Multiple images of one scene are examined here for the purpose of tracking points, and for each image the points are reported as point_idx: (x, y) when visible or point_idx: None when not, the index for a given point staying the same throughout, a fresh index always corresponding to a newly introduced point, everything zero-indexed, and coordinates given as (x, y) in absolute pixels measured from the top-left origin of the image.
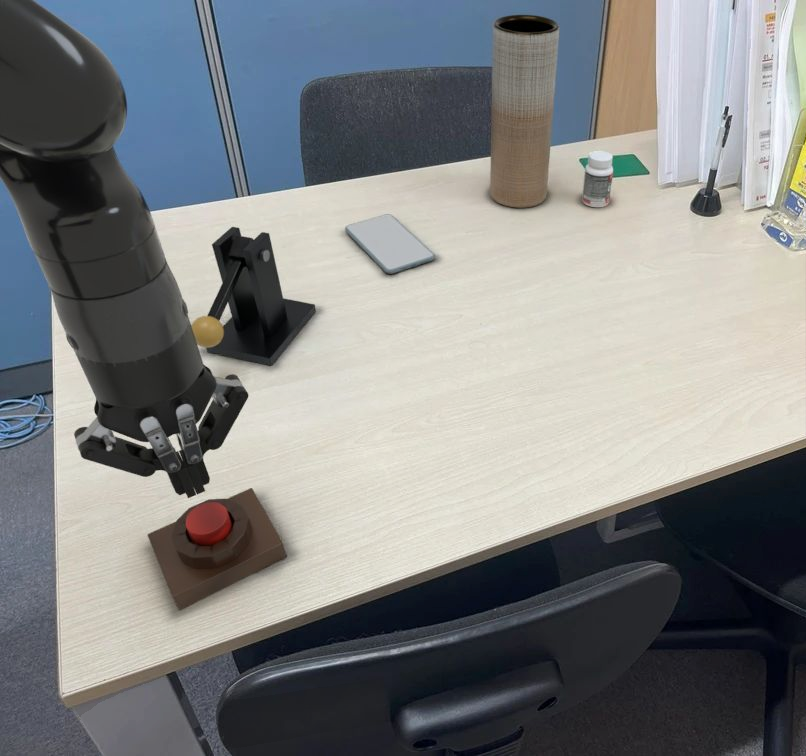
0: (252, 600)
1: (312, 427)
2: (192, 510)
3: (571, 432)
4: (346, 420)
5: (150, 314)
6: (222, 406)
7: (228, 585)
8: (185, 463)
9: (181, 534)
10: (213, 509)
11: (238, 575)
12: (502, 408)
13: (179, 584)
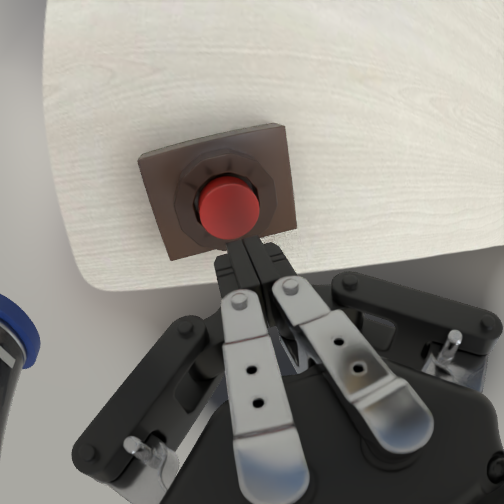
0: None
1: (366, 39)
2: (211, 193)
3: (498, 186)
4: (400, 54)
5: None
6: (424, 358)
7: None
8: (269, 318)
9: (188, 206)
10: (241, 200)
11: None
12: (489, 136)
13: (177, 247)
